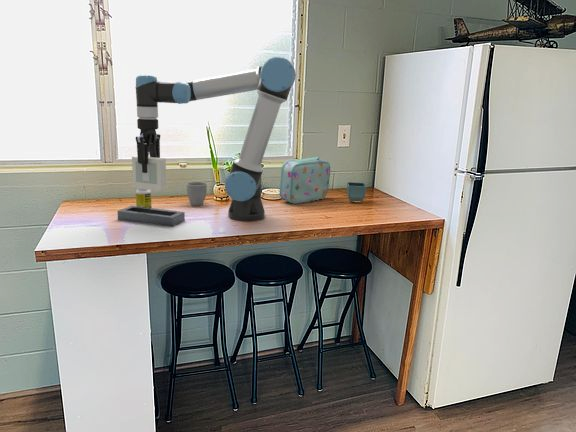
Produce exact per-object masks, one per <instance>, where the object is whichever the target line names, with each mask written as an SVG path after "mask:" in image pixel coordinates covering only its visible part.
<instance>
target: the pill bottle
mask: <svg viewBox="0 0 576 432" xmlns="http://www.w3.org/2000/svg"><path fill="white" fill-rule="evenodd" d="M135 202H136V203H135V204H136V205H135V206H139V207H147V208H153V207H152V190H148V189H139V188H137V189H136V190H135Z"/></svg>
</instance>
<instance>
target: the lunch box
mask: <svg viewBox="0 0 576 432" xmlns="http://www.w3.org/2000/svg"><path fill="white" fill-rule="evenodd" d="M330 177H331V164H330V163H329V162H328V161H326V160H323V159H321V158H320V157H318V156H313V157H307V158H298V159H287V160H286V161H284V162H283V164H282V166H281V171H280V183H279V196H280V199H281V200H282V201H287V202H288V203H291V204H294V205H297V204H304V203H312V202H311V201H313V202H315V200H317V201H320V200H319V199H322V198H324V199H325V198H326V196H327V195H328V191H329V187H330V186H329V185H330V179H331V178H330ZM322 200H323V199H322ZM303 202H304V203H303Z"/></svg>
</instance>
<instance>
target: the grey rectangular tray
mask: <svg viewBox="0 0 576 432" xmlns="http://www.w3.org/2000/svg"><path fill="white" fill-rule="evenodd" d="M185 213H186V212H185V211H180V210H179V211H177V210H171V209H163V208H153V207H152V208H147V207H139V206H136V205H129V206H126V207H125V208H122V209H120V210H119V209H118V210H117V221H125V222H126V221H127V222H133V223H142V224H149V225H156V226H157V225H158V226H164V227H175V226H177V225H178V224H180V223H183V222H185V220H186V219H185V217H186V215H185Z"/></svg>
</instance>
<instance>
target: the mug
mask: <svg viewBox="0 0 576 432" xmlns="http://www.w3.org/2000/svg"><path fill="white" fill-rule="evenodd" d="M207 188H208V185H207V183H206V182H204V181H191V182H189V181H188V182H187V183H186V193H187V198H188V200H189V203H190V205H191V206H193V205H194V206H195V207H199V206H203V205H204V202H205V199H206V195H207Z"/></svg>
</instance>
